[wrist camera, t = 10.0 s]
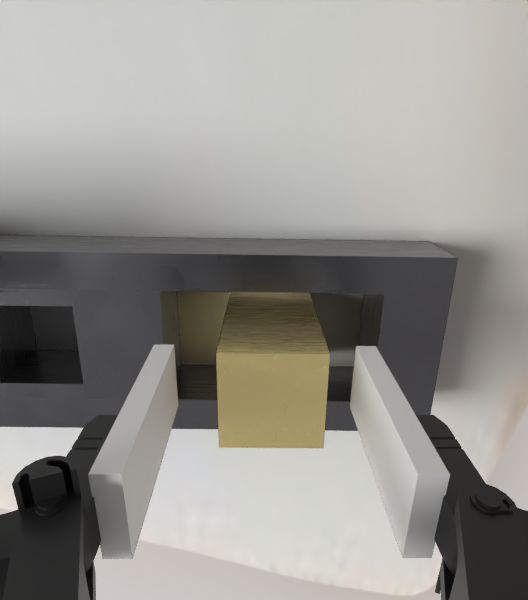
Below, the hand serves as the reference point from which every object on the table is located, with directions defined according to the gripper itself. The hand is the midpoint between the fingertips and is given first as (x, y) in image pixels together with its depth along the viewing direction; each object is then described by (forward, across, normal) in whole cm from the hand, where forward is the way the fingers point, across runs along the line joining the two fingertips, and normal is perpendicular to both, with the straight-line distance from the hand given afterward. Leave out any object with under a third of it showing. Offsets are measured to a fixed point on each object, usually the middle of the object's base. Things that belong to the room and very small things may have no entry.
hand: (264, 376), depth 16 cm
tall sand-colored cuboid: (+7, 0, -1) cm, 7 cm away
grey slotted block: (+7, -4, -1) cm, 8 cm away
